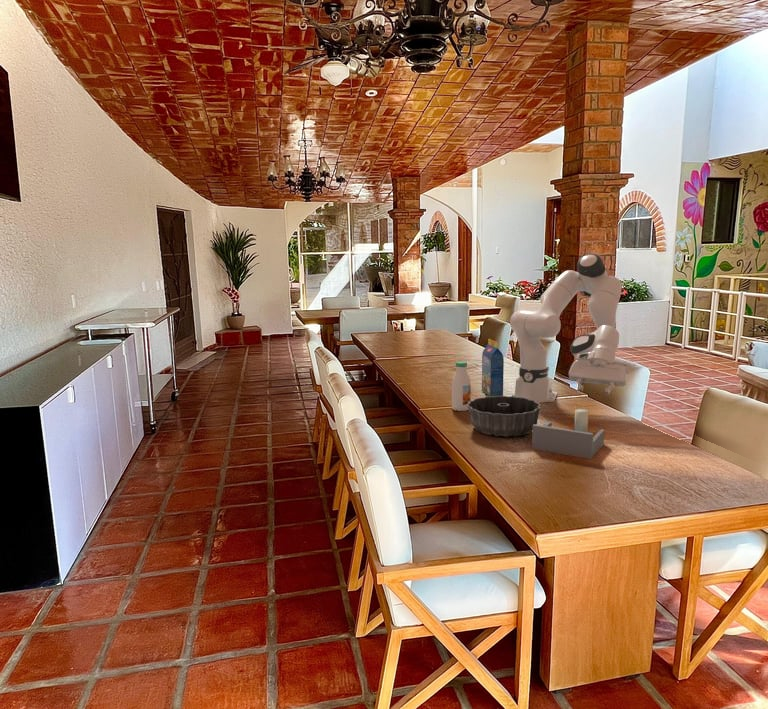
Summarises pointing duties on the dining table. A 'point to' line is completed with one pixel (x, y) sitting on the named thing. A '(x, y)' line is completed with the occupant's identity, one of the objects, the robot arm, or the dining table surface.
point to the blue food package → (492, 370)
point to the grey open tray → (566, 441)
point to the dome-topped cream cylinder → (581, 420)
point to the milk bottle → (461, 388)
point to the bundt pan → (503, 415)
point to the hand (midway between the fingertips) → (593, 391)
